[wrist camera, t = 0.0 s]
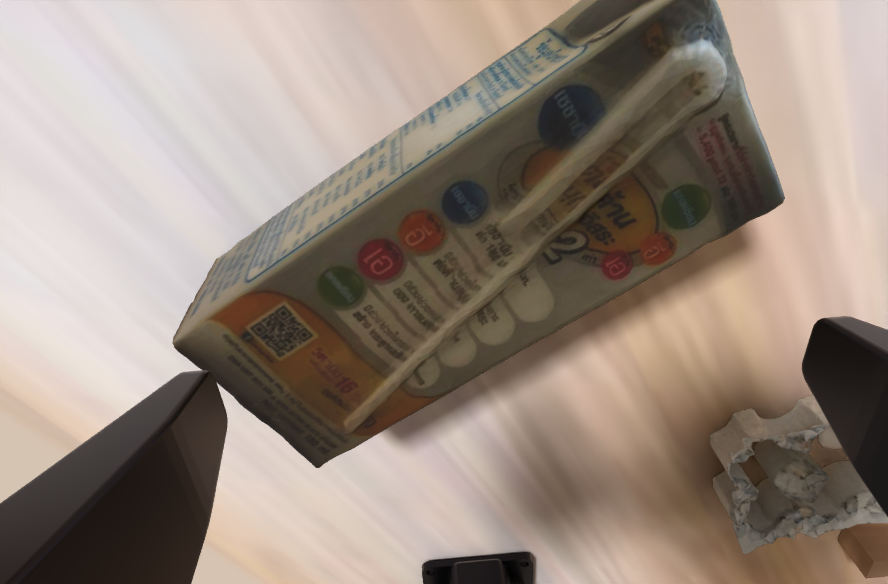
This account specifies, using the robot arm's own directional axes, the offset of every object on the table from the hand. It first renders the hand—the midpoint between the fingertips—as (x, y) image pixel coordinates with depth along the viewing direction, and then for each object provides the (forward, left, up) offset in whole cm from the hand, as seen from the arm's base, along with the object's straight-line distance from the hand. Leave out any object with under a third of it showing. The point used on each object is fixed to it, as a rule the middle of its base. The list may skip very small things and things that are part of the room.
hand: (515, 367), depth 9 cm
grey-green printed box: (-3, 0, -15) cm, 16 cm away
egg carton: (-18, -18, -15) cm, 30 cm away
